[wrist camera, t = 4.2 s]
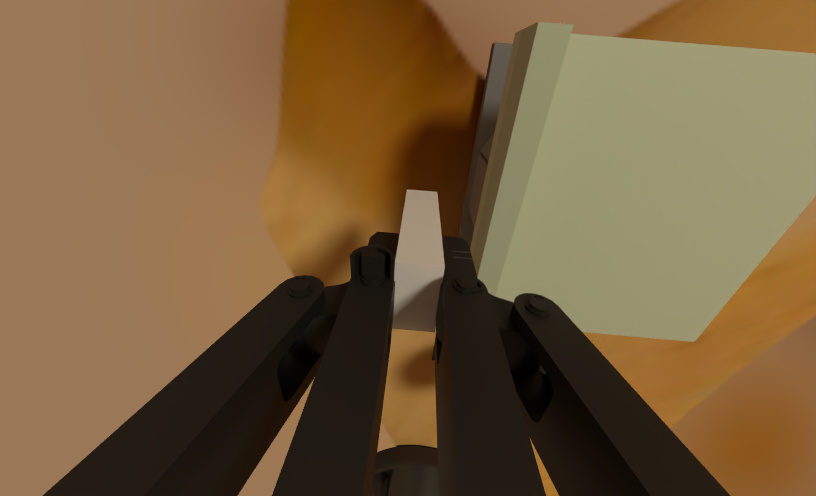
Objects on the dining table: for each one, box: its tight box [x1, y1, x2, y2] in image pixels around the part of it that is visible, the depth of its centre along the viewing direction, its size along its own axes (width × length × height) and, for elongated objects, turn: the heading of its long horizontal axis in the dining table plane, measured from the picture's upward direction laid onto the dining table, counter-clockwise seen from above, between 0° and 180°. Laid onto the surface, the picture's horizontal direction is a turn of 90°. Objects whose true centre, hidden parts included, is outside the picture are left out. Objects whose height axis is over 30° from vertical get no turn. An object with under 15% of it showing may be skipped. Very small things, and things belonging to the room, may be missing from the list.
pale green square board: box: [470, 22, 816, 342], centre depth 15 cm, size 16×16×3 cm
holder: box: [458, 43, 513, 247], centre depth 19 cm, size 16×16×5 cm
